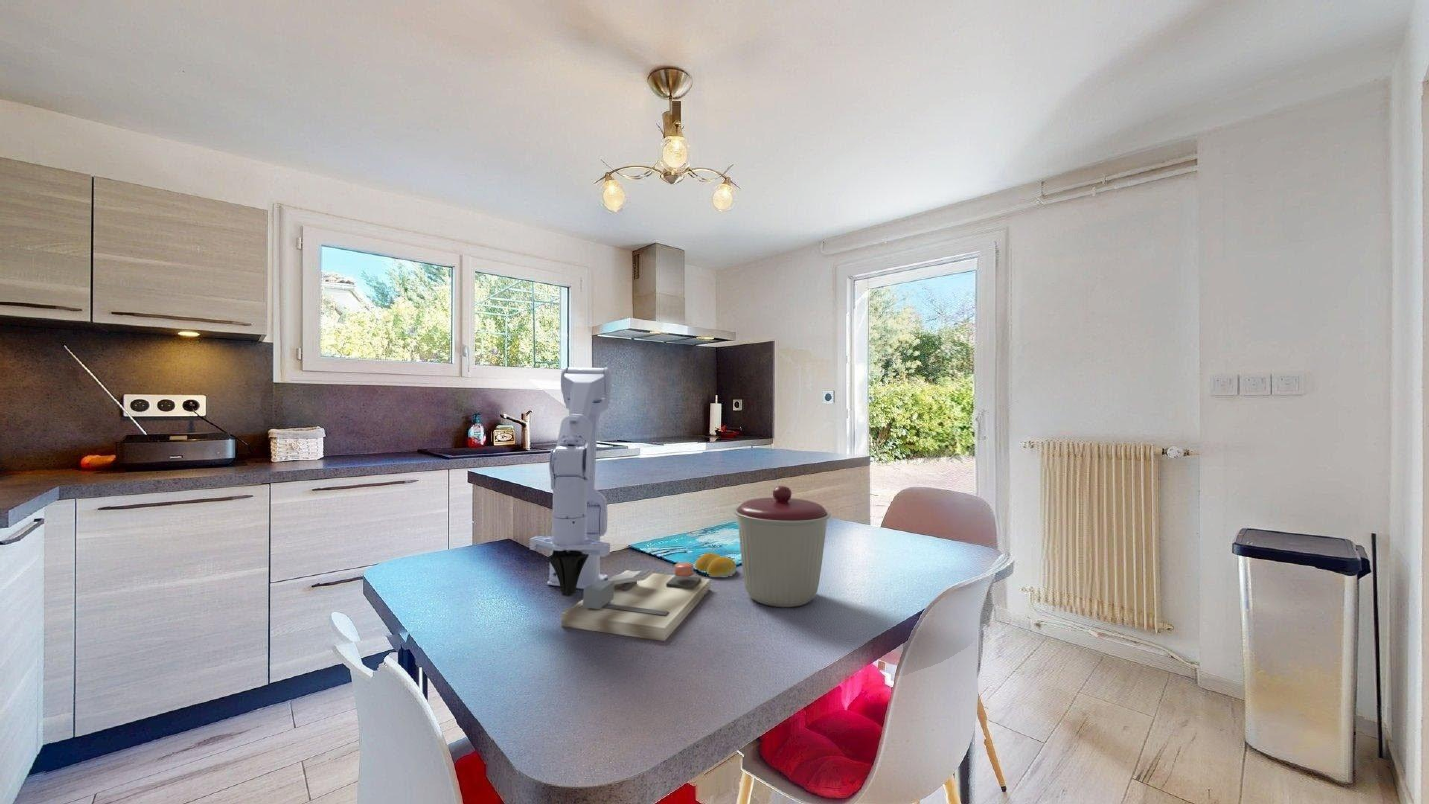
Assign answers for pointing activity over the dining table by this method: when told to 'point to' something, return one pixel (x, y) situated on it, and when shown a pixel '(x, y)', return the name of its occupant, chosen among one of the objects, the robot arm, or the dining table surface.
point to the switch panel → (642, 607)
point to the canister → (781, 548)
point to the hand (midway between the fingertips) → (568, 594)
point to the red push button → (684, 569)
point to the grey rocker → (631, 576)
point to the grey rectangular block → (598, 594)
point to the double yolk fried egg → (716, 565)
